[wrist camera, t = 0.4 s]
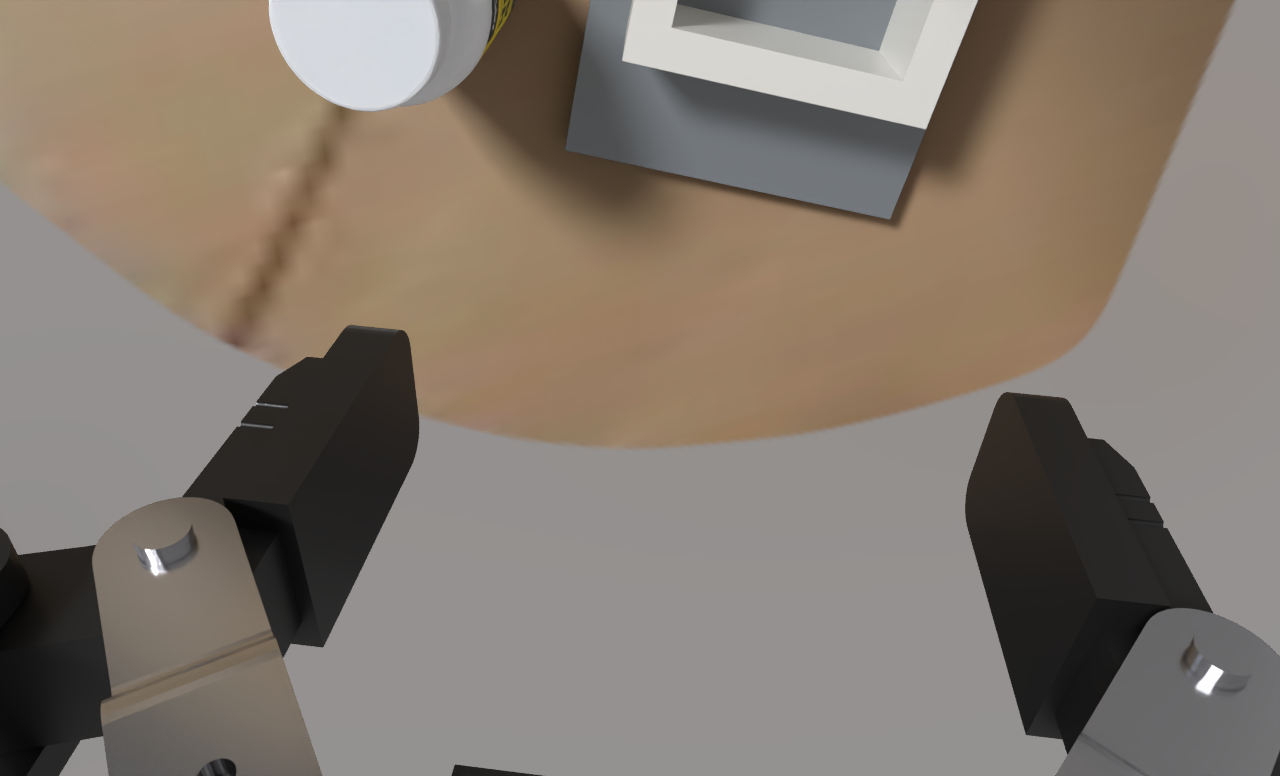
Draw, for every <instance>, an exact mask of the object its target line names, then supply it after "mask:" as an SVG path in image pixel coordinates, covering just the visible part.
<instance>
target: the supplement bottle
mask: <svg viewBox="0 0 1280 776" xmlns="http://www.w3.org/2000/svg"><path fill="white" fill-rule="evenodd" d="M514 3H515V0H269V15H270V23H271V27H272V31H273V34H274V37H275V40H276V43H277V45H278V47H279V50H280V52H281V54H282V55H283V57H284V59H285V61H286V62H287V64H288V65H289V67H290V68H291V69H292V71H293V72H294V73H295V74H296V75H297V77H298V78H299V79H300V80H301V81H302V82H303V83H304V84H305V85H307V86H308V87H309V88H310V89H312V90H313V91H314V92H315V93H317V94H318V95H320V96H322V97H323V98H325V99H327V100H328V101H330V102H332V103H334V104H337V105H339V106H342V107H345V108H349V109H352V110H358V111H367V112H370V111H383V110H388V109H392V108H395V107H398V106H412V105H419V104H423V103H426V102H429V101H432V100H434V99H436V98H438V97H440V96H442V95H444V94H446V93H448V92H449V91H451V90H452V89H454V88H455V87H456V86H457V85H459V84H460V83H461V82H462V81H463V80H464V79H465V78H466V77H467V76H468V75H469V74H470V73H471V72H472V70H473V69H474V68H475V66H476V65H477V64H478V62H479V61H480V59H481V58H482V56H483V55H484V53H485V52H486V50H487V49H488V47H489V46H490V44H491V43H492V41H493V40H494V38H495V37H496V35H497V33H498V32H499V30H500V29H501V27H502V26H503V24H504V23H505V21H506V20H507V18H508V16H509V15H510V13H511V10H512V8H513V6H514Z"/></svg>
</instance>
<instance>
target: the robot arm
mask: <svg viewBox="0 0 1280 776" xmlns="http://www.w3.org/2000/svg"><path fill="white" fill-rule="evenodd" d="M418 438H419V415H418V407H417V398H416V390H415V381H414V373H413V365H412V356H411V348H410V342H409V338H408V336H407V334H406V332H405V331H403V330H395V329H385V328H375V327H365V326H355V325H349V326H347V327H346V328H345V329H344V330H343V331H342V333H341V334H340V335H339V337H338V338H337V340H336V341H335V342H334V344H333V345H332V346H331V348H330V349H329V351H328V352H327V353H326V355H325V356H324V358H314V357H306V358H305V359H303V360H301V361H300V362H298V363H297V364H295V365H294V366H292V367H290V368H289V369H287V370H286V371H284V372H282V373H281V374H279V375H278V376H276V377H275V378H274V380H273V381H272V382H271V384H270V385H269V386H268V388H267V389H266V390H265V391H264V393H263V394H262V395H261V396H260V398H259V399H258V400H257V405H256V406H253V407H252V408H251V409H250V411H249V412H248V413H247V415H246V416H245V417H244V418H243V420H242V421H241V426H240V427H236V429H235V430H234V431H233V432H232V434H231V435H230V436H229V438H228V439H227V440H226V441H225V443H224V444H223V445H222V447H221V448H220V449H219V451H218V452H217V453H216V454H215V456H214V457H213V458H212V459H211V461H210V462H209V463H208V465H207V466H206V467H205V468H204V470H203V471H202V472H201V474H200V475H199V476H198V477H197V479H196V480H195V481H194V483H193V484H192V485H191V486H190V488H189V489H188V490H187V492H186V493H185V494H184V495H183V497H181V498H173V499H167V500H163V501H159V502H155V503H152V504H149V505H147V506H144V507H142V508H140V509H137V510H135V511H133V512H131V513H129V514H128V515H126V516H124V517H123V518H121V519H120V520H119V521H117V522H116V523H115V524H113V525H112V526H111V527H110V528H109V529H108V530H107V531H106V532H105V533H104V534H103V536H102V537H101V538H100V539H99V541H98V543H97V545H93V546H87V547H78V548H70V549H63V550H56V551H47V552H40V553H32V554H23V555H18V554H17V553H16V550H15V549H14V547H13V545H12V543H11V541H10V539H9V537H8V535H7V534H6V533H5V532H4V531H3V530H2V529H1V528H0V776H59V774H60V773H61V771H62V770H63V768H64V766H65V765H66V763H67V761H68V760H69V758H70V756H71V755H72V753H73V752H74V750H75V749H76V747H77V745H78V744H79V742H80V740H83V739H89V738H95V737H100V736H103V738H104V745H105V752H106V760H107V766H108V774H109V776H322V773H321V770H320V767H319V764H318V761H317V758H316V755H315V752H314V749H313V746H312V743H311V741H310V737H309V734H308V731H307V728H306V726H305V723H304V720H303V717H302V714H301V711H300V708H299V705H298V702H297V699H296V696H295V693H294V690H293V687H292V684H291V681H290V678H289V675H288V672H287V669H286V667H285V663H284V660H283V657H284V655H285V653H286V652H287V650H288V648H289V646H290V644H299V645H307V646H316V647H324V645H325V642H326V641H327V638H328V637H329V634H330V632H331V630H332V628H333V626H334V624H335V622H336V620H337V618H338V616H339V614H340V612H341V610H342V608H343V605H344V604H345V601H346V599H347V597H348V595H349V593H350V591H351V589H352V587H353V585H354V583H355V581H356V579H357V577H358V575H359V573H360V571H361V569H362V567H363V564H364V562H365V560H366V558H367V556H368V554H369V552H370V550H371V548H372V546H373V544H374V542H375V540H376V538H377V535H378V534H379V532H380V529H381V527H382V525H383V523H384V521H385V519H386V517H387V515H388V513H389V511H390V509H391V507H392V505H393V503H394V500H395V498H396V497H397V494H398V492H399V490H400V488H401V486H402V484H403V482H404V480H405V478H406V476H407V474H408V472H409V470H410V468H411V466H412V463H413V460H414V458H415V454H416V450H417V445H418ZM965 514H966V522H967V527H968V531H969V534H970V538H971V541H972V545H973V549H974V552H975V556H976V559H977V563H978V566H979V570H980V574H981V577H982V581H983V584H984V588H985V591H986V595H987V598H988V602H989V605H990V609H991V613H992V616H993V620H994V623H995V627H996V630H997V634H998V637H999V641H1000V644H1001V648H1002V651H1003V655H1004V659H1005V662H1006V666H1007V669H1008V673H1009V676H1010V680H1011V684H1012V687H1013V691H1014V694H1015V697H1016V701H1017V705H1018V708H1019V711H1020V716H1021V719H1022V723H1023V726H1024V730H1025V733H1026V735H1031V736H1039V737H1048V738H1056V739H1063V742H1064V745H1065V749H1066V751H1067V754H1068V755H1067V757H1066V759H1065V760H1064V762H1063V764H1062V766H1061V767H1060V769H1059V770H1058V772H1057V774H1056V775H1055V776H1280V656H1279V655H1278V654H1277V653H1276V652H1275V651H1274V650H1273V649H1272V648H1271V647H1270V646H1269V645H1268V644H1266V643H1265V642H1264V641H1263V640H1262V639H1260V638H1259V637H1258V636H1256V635H1255V634H1253V633H1252V632H1251V631H1249V630H1247V629H1246V628H1244V627H1242V626H1240V625H1238V624H1237V623H1235V622H1233V621H1230V620H1228V619H1226V618H1224V617H1221V616H1219V615H1216V614H1214V613H1213V612H1212V610H1211V608H1210V606H1209V604H1208V603H1207V601H1206V599H1205V597H1204V595H1203V593H1202V591H1201V590H1200V588H1199V586H1198V584H1197V582H1196V580H1195V579H1194V577H1193V575H1192V573H1191V571H1190V569H1189V567H1188V566H1187V564H1186V562H1185V560H1184V558H1183V557H1182V555H1181V553H1180V551H1179V549H1178V547H1177V545H1176V544H1175V542H1174V540H1173V538H1172V536H1171V534H1170V532H1169V531H1168V529H1167V528H1163V520H1162V518H1161V516H1160V514H1159V512H1158V511H1157V509H1156V507H1155V505H1154V503H1150V496H1149V494H1148V492H1147V490H1146V488H1145V486H1144V485H1143V483H1142V481H1141V479H1140V477H1139V475H1138V474H1137V472H1136V470H1135V468H1134V467H1133V466H1132V465H1131V464H1130V463H1129V462H1128V461H1127V460H1125V459H1124V458H1123V457H1122V456H1121V455H1120V454H1119V453H1118V452H1117V451H1115V450H1114V449H1113V448H1112V447H1111V446H1110V445H1109V444H1108V443H1106V442H1105V441H1104V440H1099V439H1091V438H1087V436H1086V434H1085V432H1084V430H1083V429H1082V426H1081V424H1080V422H1079V420H1078V418H1077V416H1076V414H1075V412H1074V410H1073V408H1072V406H1071V404H1070V403H1069V401H1068V400H1067V399H1065V398H1060V397H1050V396H1040V395H1030V394H1020V393H1010V392H1006V393H1003V394H1002V395H1001V397H1000V398H999V400H998V401H997V403H996V406H995V408H994V411H993V414H992V417H991V419H990V422H989V425H988V428H987V431H986V434H985V437H984V439H983V442H982V445H981V448H980V451H979V453H978V456H977V459H976V462H975V465H974V467H973V470H972V473H971V476H970V479H969V483H968V487H967V492H966V504H965ZM452 776H541V775H533V774H525V773H517V772H509V771H501V770H494V769H486V768H478V767H470V766H462V765H455V766H454V769H453V773H452Z"/></svg>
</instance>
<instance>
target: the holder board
mask: <svg viewBox="0 0 1280 776" xmlns="http://www.w3.org/2000/svg"><path fill="white" fill-rule="evenodd" d="M977 2H978V0H590V6H589V11H588V17H587V23H586V29H585V35H584V41H583V47H582V53H581V59H580V65H579V70H578V76H577V82H576V88H575V94H574V100H573V106H572V112H571V118H570V124H569V129H568V135H567V141H566V147H565V150H566V151H571V152H575V153H580V154H585V155H589V156H594V157H599V158H604V159H608V160H613V161H618V162H622V163H627V164H632V165H636V166H641V167H646V168H651V169H655V170H660V171H665V172H669V173H674V174H679V175H683V176H688V177H693V178H697V179H702V180H707V181H712V182H716V183H721V184H726V185H730V186H735V187H740V188H744V189H749V190H754V191H758V192H763V193H768V194H773V195H777V196H782V197H787V198H791V199H796V200H801V201H805V202H810V203H815V204H819V205H824V206H829V207H834V208H838V209H843V210H848V211H852V212H857V213H862V214H866V215H871V216H876V217H880V218H885V219H890V218H891V216H892V213H893V211H894V208H895V206H896V203H897V201H898V198H899V196H900V193H901V191H902V188H903V186H904V183H905V181H906V178H907V176H908V173H909V171H910V168H911V166H912V164H913V161H914V159H915V156H916V154H917V151H918V149H919V146H920V144H921V141H922V139H923V136H924V134H925V131H926V129H927V126H928V124H929V121H930V119H931V116H932V114H933V111H934V109H935V106H936V104H937V102H938V99H939V97H940V94H941V92H942V89H943V87H944V84H945V82H946V79H947V77H948V74H949V72H950V69H951V67H952V64H953V62H954V59H955V57H956V54H957V52H958V49H959V47H960V44H961V42H962V39H963V37H964V35H965V32H966V30H967V27H968V25H969V22H970V20H971V17H972V15H973V12H974V10H975V7H976V5H977Z"/></svg>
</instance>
